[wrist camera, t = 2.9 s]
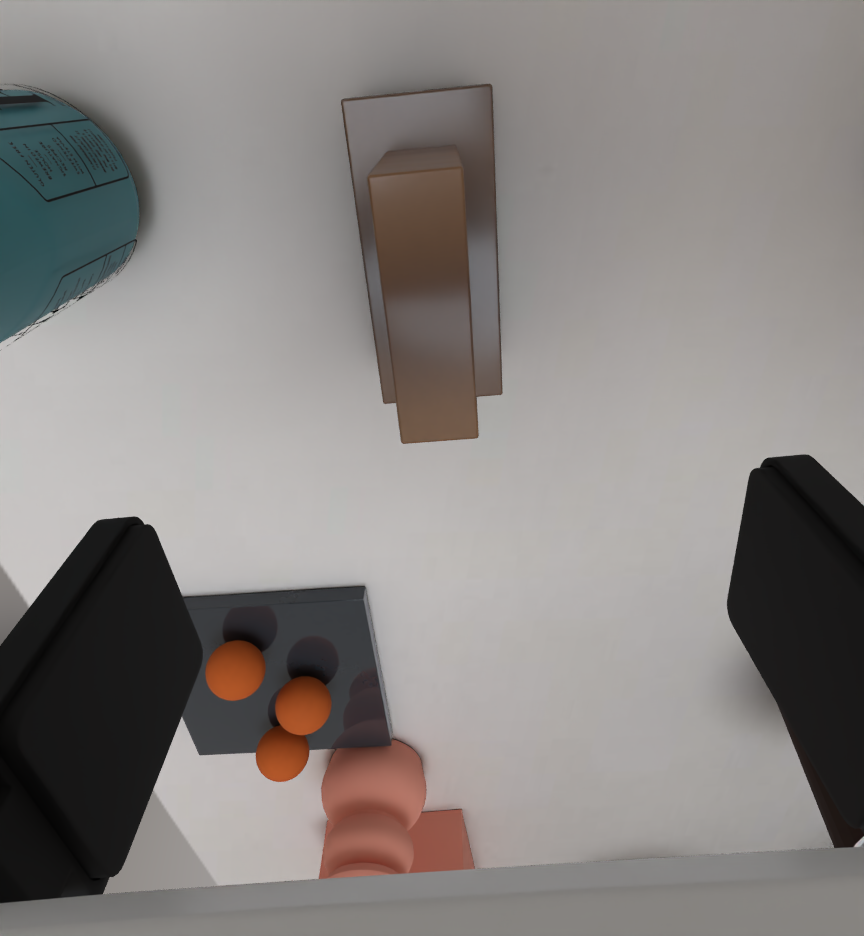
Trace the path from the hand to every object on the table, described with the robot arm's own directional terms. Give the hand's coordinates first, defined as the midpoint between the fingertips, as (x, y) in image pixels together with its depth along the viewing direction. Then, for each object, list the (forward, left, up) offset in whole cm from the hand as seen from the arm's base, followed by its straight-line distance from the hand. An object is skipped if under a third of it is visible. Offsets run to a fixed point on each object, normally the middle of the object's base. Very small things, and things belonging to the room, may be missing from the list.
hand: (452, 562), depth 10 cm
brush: (-1, 0, -17) cm, 17 cm away
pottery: (+37, -6, -18) cm, 41 cm away
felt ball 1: (+19, -12, -15) cm, 27 cm away
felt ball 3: (+25, -11, -15) cm, 32 cm away
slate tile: (+22, -11, -17) cm, 30 cm away
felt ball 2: (+22, -9, -15) cm, 28 cm away
